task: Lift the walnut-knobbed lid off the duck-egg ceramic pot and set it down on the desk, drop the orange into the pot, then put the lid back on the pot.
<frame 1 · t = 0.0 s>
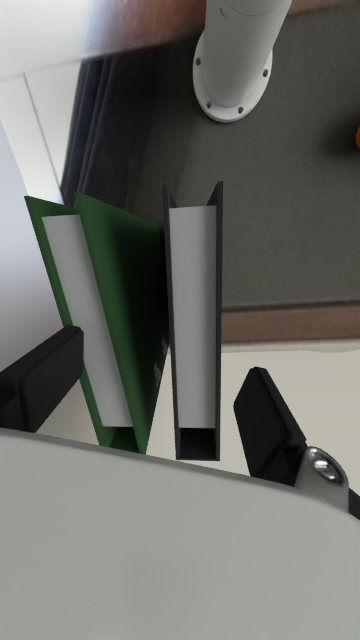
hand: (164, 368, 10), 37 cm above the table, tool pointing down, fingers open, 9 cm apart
green and black books: (176, 285, 46), on the table
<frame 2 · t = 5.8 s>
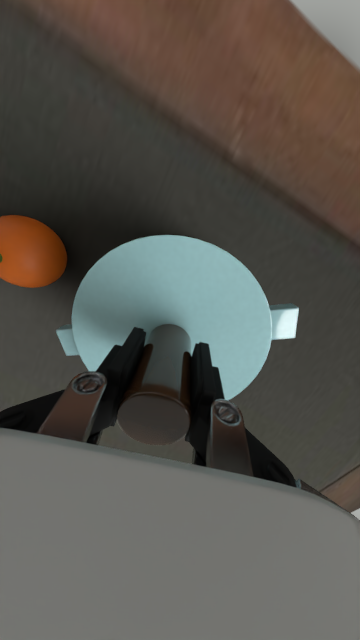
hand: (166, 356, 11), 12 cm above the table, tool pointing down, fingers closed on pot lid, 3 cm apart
orange: (51, 251, 21), on the table
pot lid: (170, 338, 13), point 10 cm above the table, touching gripper, pot
pot: (178, 299, 22), on the table
when the fingers open (3 cm above the table, at t = 12.8 s): pot lid stays where it is, point 1 cm above the table.
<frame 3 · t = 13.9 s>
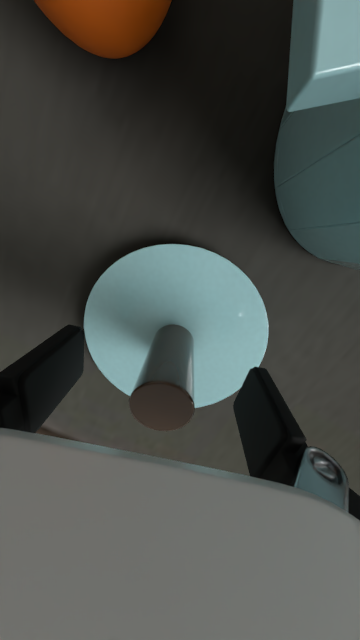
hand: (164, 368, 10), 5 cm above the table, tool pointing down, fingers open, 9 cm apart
orange: (121, 0, 8), on the table
pot lid: (174, 338, 14), point 1 cm above the table
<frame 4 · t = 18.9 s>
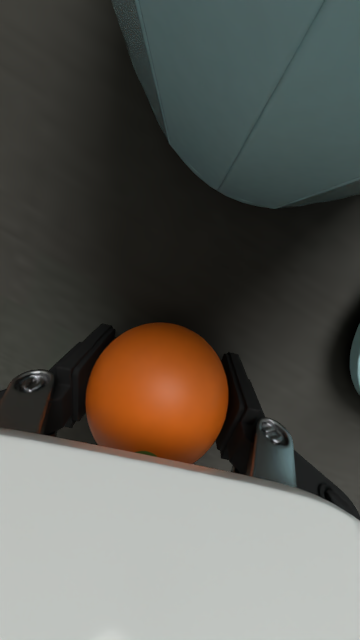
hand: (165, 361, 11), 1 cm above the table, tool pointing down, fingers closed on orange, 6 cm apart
orange: (167, 351, 12), on the table, touching gripper
when the fingers open (9 cm above the table, at t = 24.6 s): orange drops 8 cm, resting on pot.
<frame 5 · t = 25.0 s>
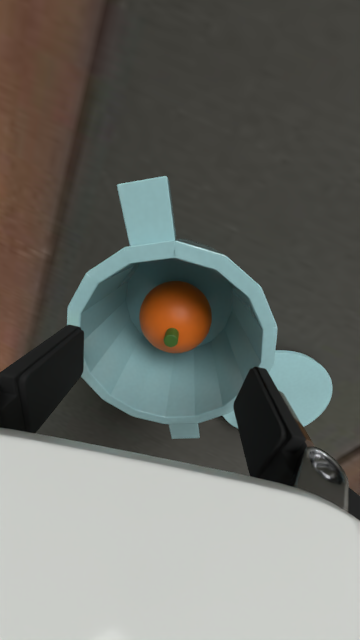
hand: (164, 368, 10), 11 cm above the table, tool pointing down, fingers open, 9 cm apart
orange: (178, 305, 20), resting on pot
pot lid: (270, 395, 24), point 1 cm above the table
pot: (178, 303, 20), on the table
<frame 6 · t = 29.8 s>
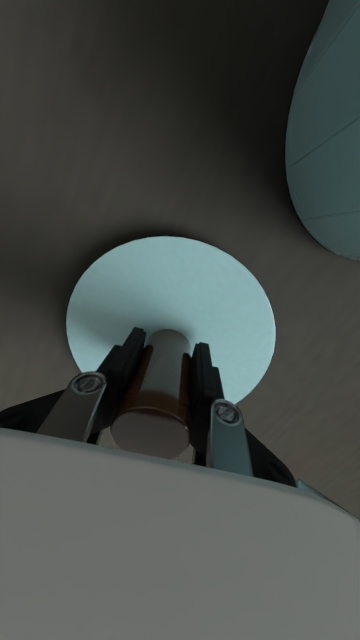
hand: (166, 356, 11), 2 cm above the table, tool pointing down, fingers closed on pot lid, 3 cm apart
pot lid: (169, 344, 13), point 1 cm above the table, touching gripper
when the fingers open (11 cm above the table, at t = 36.3 s): pot lid stays where it is, resting on pot.
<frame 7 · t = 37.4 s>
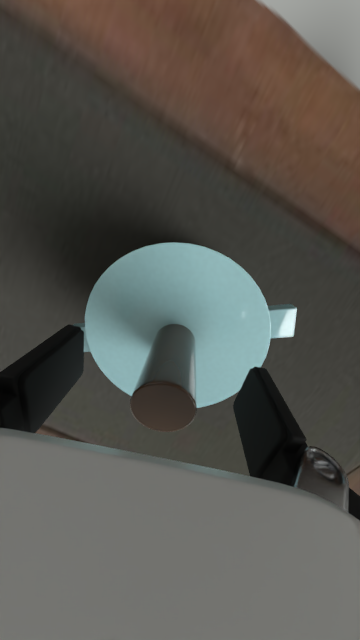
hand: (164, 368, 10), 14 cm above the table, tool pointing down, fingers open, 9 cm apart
pot lid: (175, 338, 14), point 9 cm above the table, touching pot
pot: (182, 300, 23), on the table
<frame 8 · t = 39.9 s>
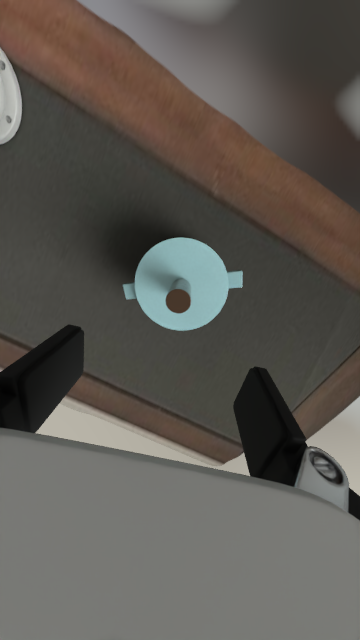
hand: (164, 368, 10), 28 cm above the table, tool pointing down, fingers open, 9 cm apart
pot lid: (181, 287, 28), point 9 cm above the table, touching pot
pot: (183, 275, 36), on the table
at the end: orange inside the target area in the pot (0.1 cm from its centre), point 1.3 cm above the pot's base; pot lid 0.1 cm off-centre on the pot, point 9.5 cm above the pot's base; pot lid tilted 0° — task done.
